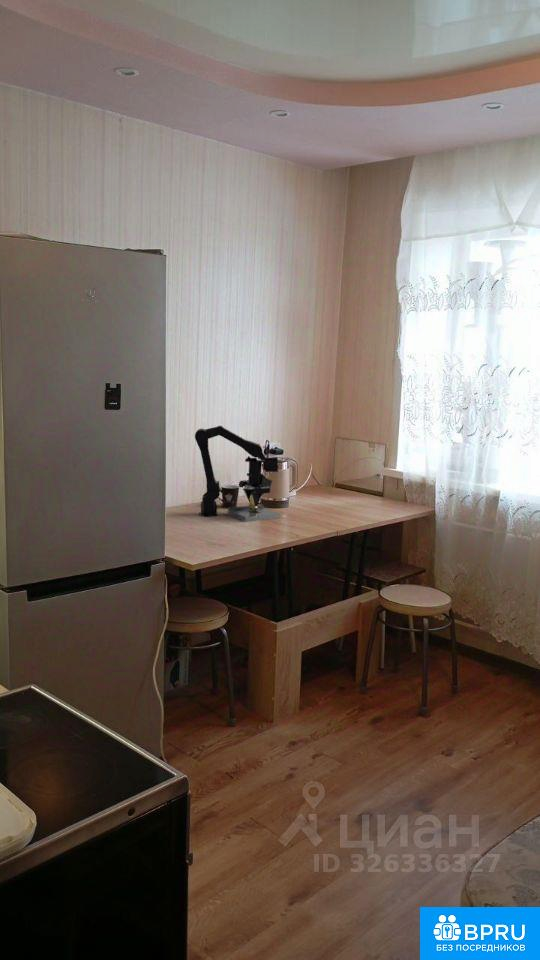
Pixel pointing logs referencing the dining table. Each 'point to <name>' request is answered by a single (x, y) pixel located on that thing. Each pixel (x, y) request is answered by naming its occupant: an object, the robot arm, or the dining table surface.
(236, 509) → the jig
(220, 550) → the dining table surface
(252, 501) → the gold rounded cylinder
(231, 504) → the coffee mug
